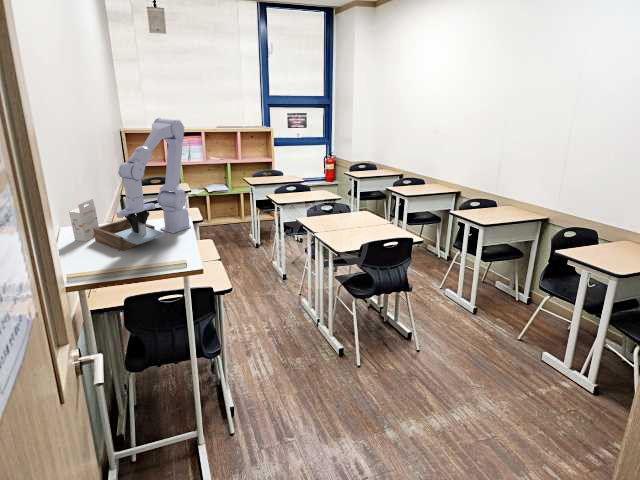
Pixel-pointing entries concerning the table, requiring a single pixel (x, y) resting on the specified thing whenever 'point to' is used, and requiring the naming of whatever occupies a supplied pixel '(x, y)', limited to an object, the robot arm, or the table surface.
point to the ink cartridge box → (84, 221)
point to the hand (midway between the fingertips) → (139, 231)
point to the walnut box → (112, 240)
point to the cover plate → (139, 238)
